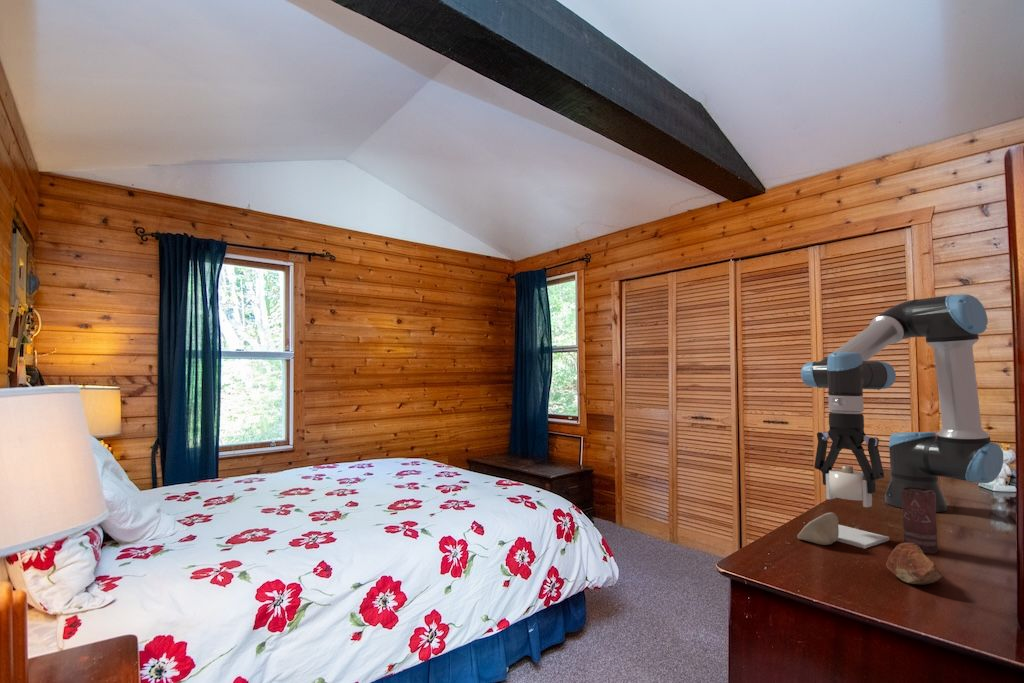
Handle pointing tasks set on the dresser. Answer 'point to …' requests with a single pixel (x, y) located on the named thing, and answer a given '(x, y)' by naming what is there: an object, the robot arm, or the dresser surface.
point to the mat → (859, 537)
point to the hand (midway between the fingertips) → (848, 502)
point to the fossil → (912, 565)
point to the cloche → (846, 483)
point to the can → (920, 518)
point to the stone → (821, 530)
